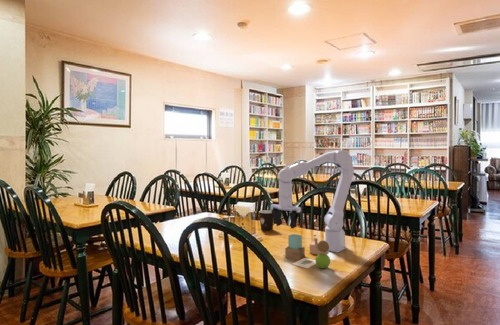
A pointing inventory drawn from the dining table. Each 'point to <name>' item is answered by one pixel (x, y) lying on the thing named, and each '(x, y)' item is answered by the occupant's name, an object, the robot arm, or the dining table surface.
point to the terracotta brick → (313, 248)
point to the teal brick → (295, 241)
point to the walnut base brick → (295, 253)
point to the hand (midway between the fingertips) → (285, 226)
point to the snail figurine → (322, 253)
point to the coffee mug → (266, 220)
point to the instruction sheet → (305, 263)
